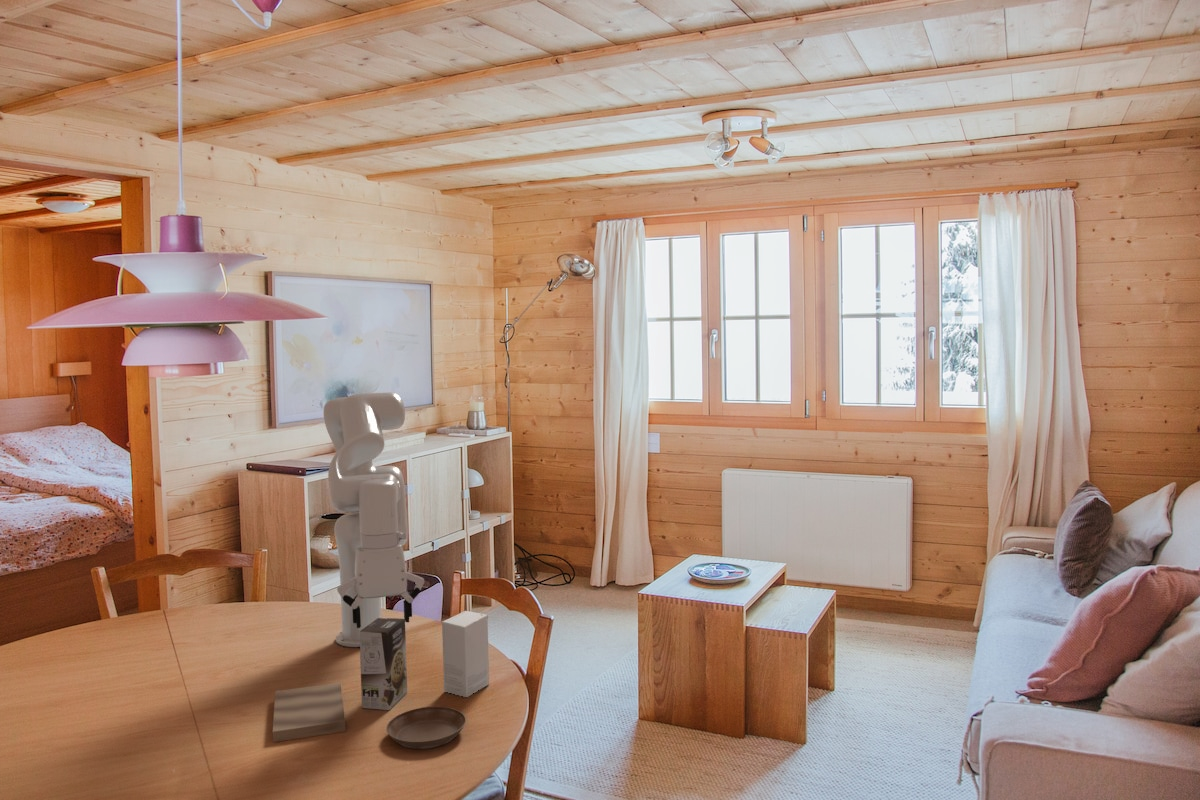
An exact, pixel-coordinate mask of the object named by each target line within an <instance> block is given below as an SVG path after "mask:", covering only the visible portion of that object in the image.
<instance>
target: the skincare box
mask: <svg viewBox="0 0 1200 800" xmlns="http://www.w3.org/2000/svg"><path fill="white" fill-rule="evenodd" d="M488 617H489V615H488V614H485V613H481V612H480V613H479V612H474V611H469V610H464V611H462V612H460V613H458V614H455V615H454V616H452V617H450V618H447V619H445V620H442V621H441V629H442V630H441V631H442V633H441V635H442V662H443V663H442V664H443V665H442V666H443V667H442V668H443V669H442V671H443V692H444V693H445V692H448V693H447V694H449V693H452V694H451V695H453V694H455V695H454V696H457V695H459V696H458V697H461V696H463V697H462V698H465V697H467V698H469V697H470V696H472V695H474V694H475V693H478V692H479V691H481V690H482V689H484V688H485V687H488V686H489V685H490V669H489V668H490V664H489V662H490V660H489V630H488V629H489V626H488V625H489V623H488ZM478 690H479V691H478ZM473 693H474V694H473Z"/></svg>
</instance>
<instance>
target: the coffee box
mask: <svg viewBox="0 0 1200 800" xmlns="http://www.w3.org/2000/svg"><path fill="white" fill-rule="evenodd" d="M406 641H407V638H406V622H405V619H404V618H397V617H395V618H393V617H389V618H386V617H385V618H377V619H376V620H375V621H373V622H372V623H371V624H369V625H368V626H366V627H365V628H364V629H362V630H361V631H360V647H359V658H360V661H359V662H360V689H361V690H360V691H361V692H360V693H361V709H370V710H381V711H390V710H392V708H393V707H395V706H396V705H397V703H399V702H400V701H401V700H402V699H403V698H404V696H406V695H407V694H408V673H407V671H408V670H407V645H406V644H407V642H406Z"/></svg>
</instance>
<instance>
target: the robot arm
mask: <svg viewBox="0 0 1200 800" xmlns="http://www.w3.org/2000/svg"><path fill="white" fill-rule="evenodd" d="M404 404H405V403H404V402H403V400H402V398H401V396H400V395H399V394H397V393H396V392H372V393H371V392H370V393H369V392H368V393H356V394H351V395H349V396H345V397H344V396H343V397H335V398H332V399H330V400H328V401H327V402H326V403H325V404H324V406H323V419H324V424H325V425H324V426H325V428H326V430H327V433H328V435H329V438H330V440H331V442H332V445H333V447H334V450H335V454H334V455H333V457H332V459H331V461H330V464H329V466H328V472H327V473H328V475H327V478H328V479H327V480H328V487H329V488H328V489H329V497H330V501H331V504H332V506H333V508H334V509H335V511H337V512H339V513H346V514H343V515H341V516H340V517H339V518H337V519H336V521H335V523H334V527H333V532H334V539H335V543H336V544H335V545H336V549H337V554H338V555H337V556H338V564H339V581H340V583H339V585H338V586H337V588H336V590H337V593H338V595H340V606H341V607H340V610H341V631H340V632H338V633H337V634H336V636H335V642H336V643H337V644H338V645H340V646H344V647H348V648H360V631H361V630H362V629H364V628H365V627H366V626H368V625H369V624H371V623H372V622H373V621H375V620H376V619H377V618H382V598H386V597H393V596H394V597H395V596H401V597H402V598H403V599H404V600H403V619H405V623H410V618H412V617H413V606H412V605H413V602H414V600H415V599H416V598H417V597H418V595H420V593H421V590H422V589H423V586H424V584H425V578H424V577H421V576H419V575H416V574H413V573H412V572H409V571H407V565H406V560H405V554H404V548H403V546H404V545H405V544H406V543H407V541H408V538H409V537H408V535H409V526H408V525H409V524H408V513H407V512H408V510H407V509H408V508H407V499H406V486H405V484H406V483H405V479H404V475H403V473H402V470H401V469H400V468H399V467H397V466H395V465H381V466H379V465H378V466H375V465H373V460H375V459H376V458H377V457H378V456H380V455H381V454H382V452H383V450H384V448H385V439H384V438H385V437H384V435H383V431H390V430H398V429H400V428H402V426H403V425H404V424H405V419H406V409H405V405H404ZM408 581H410V582H413V583H415V585H414V587H413V588H412V589H411V590H410V591H408Z"/></svg>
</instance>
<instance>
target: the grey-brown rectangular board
mask: <svg viewBox="0 0 1200 800" xmlns="http://www.w3.org/2000/svg"><path fill="white" fill-rule="evenodd" d="M341 684H342V683H341V682H334V683H327V684H326V683H325V684H319V685H312V686H311V685H310V686H303V687H297V688H296V687H295V688H290V689H282V690H275V692H274V706H273V708H274V709H273V719H272V720H273V721H272V723H273V724H272V742H273V743H276V742H283V741H284V742H285V741H289V740H296V739H302V738H310V737H318V736H323V735H330V734H336V733H344V732H346V718H345V709H344V700H343V693H342V685H341Z"/></svg>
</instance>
